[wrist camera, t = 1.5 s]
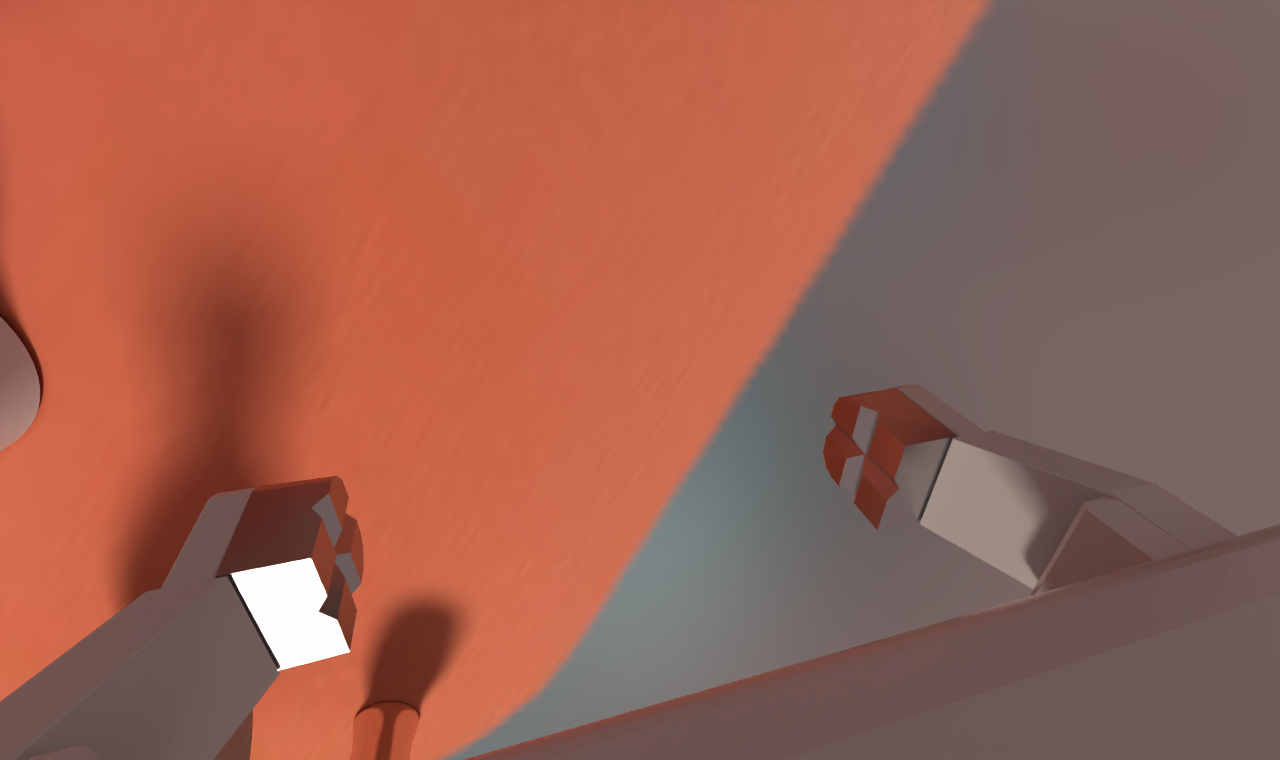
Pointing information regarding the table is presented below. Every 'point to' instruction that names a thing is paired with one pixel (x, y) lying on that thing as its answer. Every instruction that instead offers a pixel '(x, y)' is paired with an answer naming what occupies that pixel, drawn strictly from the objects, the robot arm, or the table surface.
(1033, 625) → the robot arm
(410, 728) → the beer glass
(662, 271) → the table surface
